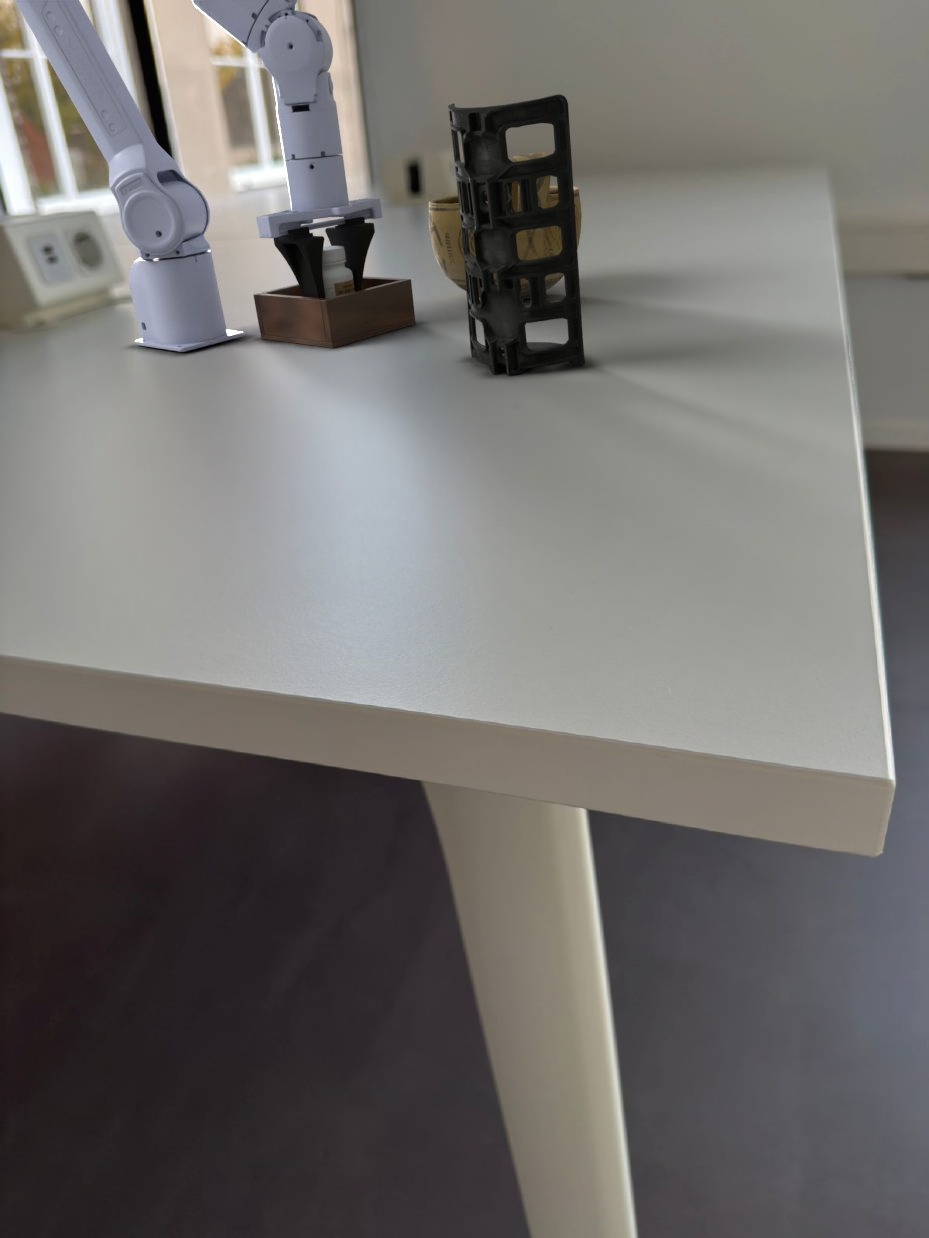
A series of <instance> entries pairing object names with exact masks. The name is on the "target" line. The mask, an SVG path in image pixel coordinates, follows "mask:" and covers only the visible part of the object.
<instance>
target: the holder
mask: <svg viewBox="0 0 929 1238" xmlns="http://www.w3.org/2000/svg"><path fill="white" fill-rule="evenodd" d="M447 109H448V117H449V126H450V135H451V142H452V143H451V144H452V151H453V152H452V153H453V162H454V169H455V170H454V172H455V181H456V188H457V195H458V200H459V209H460V219H461V229H462V240H463V251H464V263H465V276H466V291H465V292H466V305H467V318H468V319H467V321H468V336H469V348H470V355H471V357H472V359H474V360H475V361H476V362H478V364H479V363H480V364H481V365H483V366H486V367H489V369H490V372H491V373H492V375H497V374H498V373H500V372H502V371H506V375H507V376H515V375H518V374H521V373H523V372H525V371H527V370H528V369H532V368H533V369H534V368H542V367H549V366H550V367H551V366H555V365H559V364H563V363H569V364H571V365H576V364H581V365H582V366H584V365H585V364H586V359H585V347H584V336H583V335H584V334H583V319H582V318H583V317H582V304H581V302H582V301H581V287H580V271H579V270H580V269H579V255H578V249H577V236H576V220H575V204H574V188H573V186H574V176H573V175H574V174H573V159H572V143H571V128H570V113H569V111H570V110H569V109H570V108H569V102H568V100H567V97H566V96H565V95H564V94H561V93H560V94H553V95H549V96H545V97H539V98H535V99H530V100H524V101H519V102H513V103H506V104H498V105H489V106H480V107H479V106H478V107H477V106H475V107H457V106H455V103H451V104H449V105H448V106H447ZM537 124H548V125H552V126H553V128H552V129H553V142H554V151H553V152H552V153H551V154H547V156H545V157H541V158H536V159H530V160H524V161H516V162H512V161H511V159H510V158H509V153H508V144H507V134H506V133H507V131H508V130H509V129H512V128H513V129H514V128H515V129H517V128H522V127H526V126H531V125H532V126H533V125H537ZM458 132H459V133H458ZM459 134H460V139H461V147H462V155H463V162H462V160H461V150H460V143H459ZM544 176H550V177H555V178H556V183H557V184H556V186H558V197H559V202H558V203H557V204H556V205H555V206H553V207H549V208H542V207H539V204H538V197H537V185H536V182H537V179H538V178H540V177H544ZM516 181H517V182H518V183H519V189H520V200H521V211H519V212H515V211H514V209H513V202H512V193H511V192H512V182H516ZM485 192H486V193H487V200H488V204H487V203H486V201H485ZM550 226H558V227H560V228H561V239H562V250H561V252H560V253H559V254H558V255H554V256H549V257H545V258H539V259H533V260H524V261H523V260H521V259H519V257H518V251H517V241H516V234H517V233H518V232H520V231H523V230H531V229H538V228H546V227H550ZM468 230H470V231H471V233H472V234H473V241H474V249H475V258H473V257H471V256H470V247H469V236H468ZM493 273H495V274H496V279H497V284H495V281H494V275H493ZM554 273H562V274H564V276H563V281H564V282H563V283H564V293H565V296H564V297H563V298H561V299H559V300H556V301H549V300H548V299H547V293H546V292H547V291H546V289H545V277H546V276H547V275H549V274H554ZM522 278H524V279H526V280H528V281H529V291H530V298H529V300H530V304H529V305H525V304H524V302H523V299H522V292H521V280H520V279H522ZM477 280H478V281H477ZM478 287H479V291H478ZM479 295H480V297H479ZM559 319H560V320H561V319H562V320H563V319H564V320H566V323H567V338H568V339H567V341H566V342H565V343H559V342H551V341H550V342H549V341H527V330H526V325H527V324H531V323H532V324H533V323H539V322H546V321H552V320H559ZM476 320H478V321H479V322H480V323H481V325H482V330H483V338H484V344H482V343H481V342H479V341H478V336H477V323H476V322H477V321H476Z"/></svg>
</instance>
